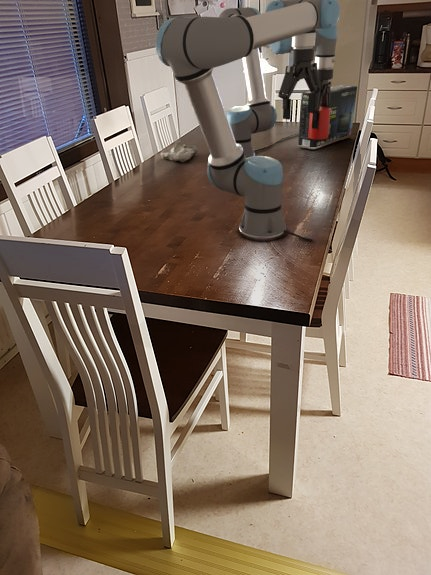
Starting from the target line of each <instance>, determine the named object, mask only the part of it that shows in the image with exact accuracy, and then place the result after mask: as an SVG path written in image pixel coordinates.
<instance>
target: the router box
mask: <svg viewBox="0 0 431 575" xmlns="http://www.w3.org/2000/svg"><path fill="white" fill-rule="evenodd" d="M309 93H311V92H310V90H309V91H304V92H301V93H300V109H299V110H300V111H299V124H298V133H299V134H298V135H297V136H298V137H297V146H298V145H302V146H307V147H317V146H320V145H323V144H325V143H328V142H331V141H333V140H336V139H338V138H341V137H344V136H347V135H351V136H352V133H353V132H352V131H353V125H354V115H355V109H356V99H357V93H358V86H356V85H350V84H339V85H338V84H337V85H334V86H331V89H330V108H331V112H330V122H329V132H328V138H326V139H311V138H309V137H308V132H309V119H310V113H307V112H308V96H309ZM320 107H322V100H321V105H320ZM311 151H313V150H312V149H311Z"/></svg>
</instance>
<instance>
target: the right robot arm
mask: <svg viewBox="0 0 431 575" xmlns="http://www.w3.org/2000/svg"><path fill="white" fill-rule="evenodd" d="M340 9H341V8H340V3H339V1H338V0H273V1H270V2H269V3H268V4H267V6H266V8H265V10H264V12H263V13H261V14H258V15H255V16H251V17H247V18H245V17H244V16H242V15H237V16H233V17H219V16H185V17H184V16H177V17H173V18H168V19H166V20H165V21H164V22H163V23H162V24H161V25H160V27H159V29H158V30H157V35H156V38H155V52H156V56H157V57H158V59H159V60H160V62H161V63H162V64H164V65H165V66H167V67H170V69H171V72H172V74H173V76H174V79H175V81H176V82H178V83H181V84H182V85H183V86H184V89H185V93H186V94H187V97H188V99H189V102H190V105H191V107H192V110H193V113H194V114H195V117H196V120H197V122H198V125H199V128H200V130H201V133H202V136H203V138H204V140H205V143H206V146H207V148H208V151H209V153H210V154H209V155H208V161H207V168H206V175H207V178H208V181H209V183H210V184H211V185H212V186H214V187H215V188H217V189H219V190H221V191H223V192H228V193H231V194H233V195H237V196H240V197H243V198H244V211H243V213H242V216H241V220H240V222H239V226H238V232H239V235H240V236H241V237H242V238H244V239H247V240H250V241H254V242H271V241H277V240H279V239H281V238H283V237H285V235H286V234H288V235H290V236H293V237H296V238H298V239H301V240H304V241H308V242H313V238H309V237H305V236H302V235H299V234H296V233H294V232H292V231H288V230H287V223H286V221H285V216H284V214H283V210H282V200H283V183H284V174H283V173H284V172H283V171H284V169H283V165H282V163H281V162H280V161H279V160H278V159H275V158H273V157H270V156H263V155H255V156H252V157H249V158H246V156H245V153H244V150H243V147H242V146H241V145H239V144H236V142H235V139H234V136H233V133H232V130H231V127H230V124H229V121H228V118H227V112H226V109H225V107H224V104H223V101H222V98H221V95H220V92H219V89H218V85H217V83H216V80H215V78H214V74H213V70H214V68H218V67H222V66H225V65H227V64H230V63H233V62H236V61H238V60H242V58H244V57H247V56H248V55H249V54H250V53H251V52H252V50H254V49H257V48H259V49H260V48H264V47H263V46H267V45H270V44H273V43H276V42H279V41H282V40H285V39H288V38H291V37H292V47H293V49H292V50H291V53H290V61H291V62H292V65H286V66H285V72H284V76H283V78H282V82H281V85H280V88H279V92H278V95H277V96H278V98H280V99H282V119H283V120H291V114H292V112H291V111H292V98H291V97H292V96H291V95H292V94H293V91H294V90H295V88H296V86H297V84H298V82H300V81H302V80H304V82H305V83H306V86H307V87H308V90H309V91H310V92H311V93H309V96H308V112H307V113H315V103H316V95H317V93H319V92H320V90H321V85H320V80H319V75H318V71H317V63H315V51H314V49H313V47H314V46H315V34H316V33H315V31H316V30H318V29H328V28H332V27H334V26H335V25H336V24H337V23H338V21H339V18H340ZM336 26H337V25H336ZM313 61H314V62H313Z"/></svg>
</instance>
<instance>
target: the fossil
mask: <svg viewBox="0 0 431 575" xmlns="http://www.w3.org/2000/svg"><path fill="white" fill-rule="evenodd" d="M198 153H199V150H198V148H197V146H195V145H188V146H187V145H186V143H184V142H183V143H181V142H176V143H175V145H174V146H173V147H172V148H171V149H170V150H168V149H165V150H162V151H161V152H160V156H161V158H162V159H163V160H169V161H174V162H177V161H179V162H180V163H185V162H187V161H188V160H190V159H191V158H192V157H193V156H194V155H197V154H198Z"/></svg>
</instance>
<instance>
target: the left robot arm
mask: <svg viewBox="0 0 431 575" xmlns="http://www.w3.org/2000/svg"><path fill="white" fill-rule="evenodd" d="M258 14H262V13H261V12H260V10H258V9H257V8H255V7H250V6H247V7H230V8H227V9H226V8H225V9H224V10H223V11H222V12H220V14H219V16H218V17H233V16H237V15H242V16H244V17H245V18H247V17H251V16H255V15H258ZM315 33H316V34H315V46H314V47H313V49H314V52H315V57H314V63H317V71H318V75H319V80H320V85H321V90H320V92H319V93H317V95H316V103H315V113H313V117H312V128H313V129H318V126H319V115H320V112H319V109H320V105H321V100H322V107H328V108H330V89H331V87H332V81H330V80H332V79H333V78H334V66H335V63H336V59H335V58H336V57H335V56H336V47H337V40H338V26H337V25H335V26H334V27H332V28H328V29H316V31H315ZM262 48H267V49H269V50H271V51H272V53H274V54H276V55H284V54H291V50H292V49H293V47H292V37H291V38H288V39H285V40H282V41H279V42H276V43H273V44H270V45H267V46H263V47H262ZM261 61H262V60H261V54H260V48H257V49H254V50H252V52H251V53H250V54H249V55H248V56H247V57H244V58H241V64H242V69H243V75H244V81H245V82H244V83H245V87H246V94H247V102H246V105H240V106H234V107H232V108H230V109H228V110H227V112H226V115H227V118H228V121H229V124H230V127H231V130H232V133H233V136H234V139H235V142H236V144H239V145H241V146H242V147H243V150H244V153H245V156H246V158H249V157H252V156H256V152H260V151H263V150H265V149H267V148H266V146H263V147H264V148H263V147H260V148H261V149H260V148H257V149H258V150H256V149H254V147H253V143H252V135H254V134H257V133H263V132H267V131H269V130H272V129H273V128H274V127H275V124H276V123H277V119H278V112H277V109H276V108H275V106H274V105H272V104H271V100H270V99H269V98H268V97H267V94H266V88H265V82H264V74H263V68H262V62H261ZM254 150H255V151H254Z"/></svg>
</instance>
